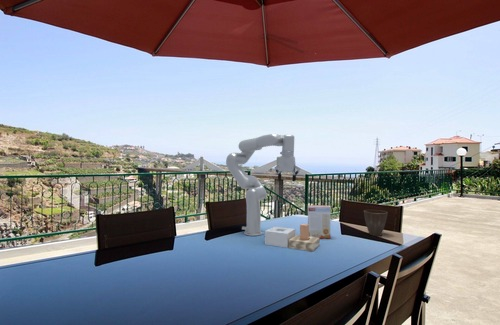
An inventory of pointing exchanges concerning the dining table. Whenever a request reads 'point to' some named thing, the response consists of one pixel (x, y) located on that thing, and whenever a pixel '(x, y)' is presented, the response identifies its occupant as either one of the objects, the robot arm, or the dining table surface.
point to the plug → (304, 232)
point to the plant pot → (375, 221)
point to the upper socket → (279, 236)
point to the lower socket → (304, 243)
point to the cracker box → (319, 221)
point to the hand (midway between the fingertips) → (286, 180)
